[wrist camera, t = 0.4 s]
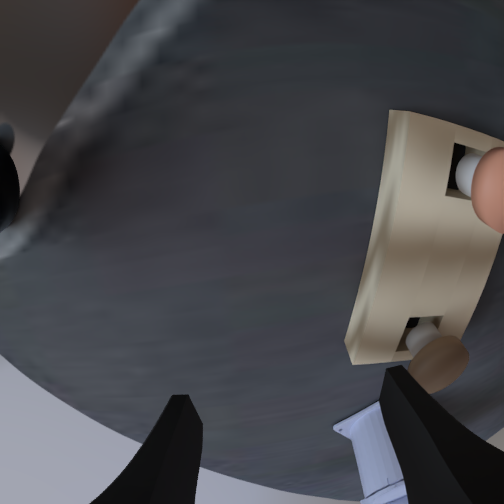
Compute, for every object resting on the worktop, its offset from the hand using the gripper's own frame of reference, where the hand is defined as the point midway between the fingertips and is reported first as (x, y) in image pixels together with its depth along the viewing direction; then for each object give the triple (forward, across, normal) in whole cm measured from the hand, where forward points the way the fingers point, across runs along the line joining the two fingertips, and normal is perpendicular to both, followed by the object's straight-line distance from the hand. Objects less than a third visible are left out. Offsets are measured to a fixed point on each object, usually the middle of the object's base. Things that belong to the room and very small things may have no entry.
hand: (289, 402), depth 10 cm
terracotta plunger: (+7, -12, -6) cm, 15 cm away
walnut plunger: (+7, -9, +5) cm, 13 cm away
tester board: (+10, -10, 0) cm, 14 cm away
